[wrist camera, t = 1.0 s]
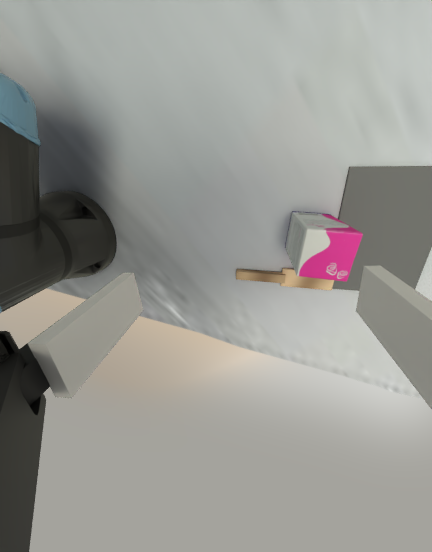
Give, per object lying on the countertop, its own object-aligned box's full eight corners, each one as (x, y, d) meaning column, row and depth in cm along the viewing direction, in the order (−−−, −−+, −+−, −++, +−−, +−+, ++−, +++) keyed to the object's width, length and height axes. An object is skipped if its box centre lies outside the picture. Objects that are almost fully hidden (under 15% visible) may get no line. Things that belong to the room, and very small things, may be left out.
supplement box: (284, 248, 36) (294, 276, 26) (291, 210, 34) (306, 224, 23) (322, 252, 35) (348, 283, 25) (332, 214, 33) (366, 230, 23)
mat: (323, 286, 37) (324, 288, 37) (349, 166, 30) (350, 166, 30) (411, 293, 35) (412, 294, 35) (461, 166, 28) (463, 166, 28)
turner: (236, 280, 40) (235, 283, 39) (237, 264, 39) (236, 267, 37) (330, 288, 37) (332, 291, 36) (334, 271, 36) (336, 274, 35)
